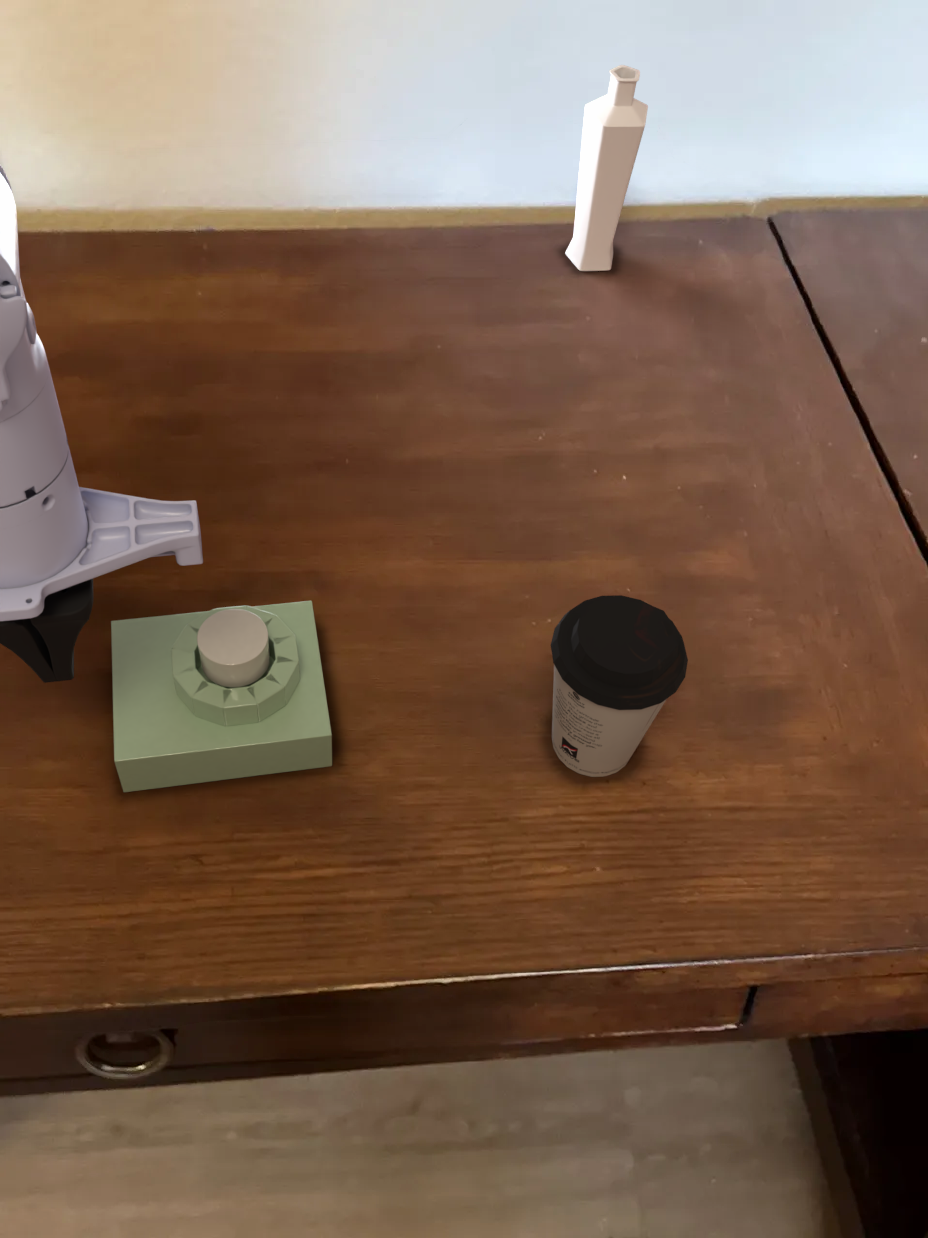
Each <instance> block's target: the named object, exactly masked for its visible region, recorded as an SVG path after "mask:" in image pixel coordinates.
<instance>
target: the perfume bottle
mask: <svg viewBox="0 0 928 1238" xmlns="http://www.w3.org/2000/svg"><path fill="white" fill-rule="evenodd" d="M608 72H609V74H610V79H609V84H608V89H607V93H606V94H604V95H602V96H600V97H598V98H595V99H594V100H592V101H589V102H587V103H585V104H584V109H583V110H584V111H583V121H582V133H581V143H580V158H579V166H578V169H579V170H578V178H577V189H576V200H575V213H574V222H573V235H572V238H571V240H570V242H569V244H568V246H567V247H566V250H565V253H564V254H565V256H566V257H567V258H568V259H569V260H570V261H571V263H572V264H573V265H574V266H575V268H576V269H577V270H579V271H580V272H598V271H599V272H600V271H610V270H611V269H612V266H613V258H614V238H615V235H616V232H617V228H618V224H619V222H620V221H619V220H620V216H621V214H622V210H623V207H624V202H625V200H626V196H627V192H628V188H629V184H630V181H631V177H632V173H633V170H634V168H635V167H634V166H635V163H636V158H637V155H638V152H639V149H640V145H641V142H642V138H643V134H644V131H645V127H646V123H647V116H648V108H649V106H648V104H647V103H644V102H642V101H641V100H639V99H637V98H635V97H634V96H635V92H636V88H637V83H638V82H639V81H640V77H641V71H640V70H639V69H637V68H634V67H631V66H628V65H625V64H619V65H618V66H615V67H613V68H611V69H609V71H608Z"/></svg>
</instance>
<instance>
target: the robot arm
mask: <svg viewBox="0 0 928 1238" xmlns="http://www.w3.org/2000/svg"><path fill="white" fill-rule="evenodd" d="M14 197H15V196H14V192H13V187H12V185H11V182H10V180H9V177H8V175H7V173H6V171H5V169H4V167H3V166H2V165H1V164H0V645H2V646H3V647H5V648H6V649H8V650H10V651H11V652H12V653H14V654H15V655H16V656H17V657H19V658H20V659H21V660H22V661H23V662H24V663H25V664H26V665H27V666H28V667H29V668H30V669H31V670H32V671H33V673H34V674H36V676H37V677H38V678H39V679H40V680H41V681H42V682H43V683H44V684H46V683H47V684H49V683H57V682H64V681H73V679H74V678H75V646H76V643H77V640H78V637H79V635H80V633H81V632H82V630H83V628H84V626H85V625H86V623H87V622H89V620H90V618H91V614H92V612H93V611H92V610H93V606H94V579H95V578H98V577H100V576H103V575H106V574H109V573H112V572H115V571H118V570H119V569H120V570H121V569H123V568H126V567H127V566H130V565H133V564H136V563H138V562H141V561H144V560H147V559H149V558H156V557H157V558H158V557H166V556H175V561H176V563H177V565H179V566H184V567H185V566H195V565H202V564H203V563H204V558H203V543H202V533H201V532H202V531H201V524H200V517H199V511H198V504H197V500H160V499H153V498H146V497H141V496H135V495H128V494H123V493H118V492H111V491H106V490H100V489H94V488H88V487H82V486H79V482H78V478H77V473H76V469H75V465H74V462H73V457H72V454H71V449H70V445H69V440H68V436H67V432H66V428H65V424H64V420H63V416H62V412H61V408H60V405H59V401H58V397H57V392H56V388H55V384H54V381H53V377H52V372H51V368H50V364H49V361H48V357H47V353H46V350H45V347H44V345H43V342H42V340H41V338H40V336H39V335H38V333H37V326H36V320H35V315H34V312H33V310H32V309H31V307H30V305H29V303H28V302H27V299H26V295H25V292H24V288H23V284H22V280H21V268H20V250H19V231H18V229H19V228H18V226H19V225H18V211H17V205H16V201H15V198H14Z"/></svg>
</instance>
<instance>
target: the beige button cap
mask: <svg viewBox="0 0 928 1238" xmlns="http://www.w3.org/2000/svg"><path fill="white" fill-rule="evenodd" d="M197 644H198V650H199V656H200V662H201V667H202V670H203V672H204V674H205V675H206V676H207V677H208V678H209V679H210V680H211V681H213V682H214V683H216V684H218V685H221V686H225V687H242V686H246V685H249V684H251V683H253V682H255V681H257V680H258V679H259V678H260V677H262V675H263V674H264V673H265V672H266V670H267V668H268V666H269V663H270V650H269V638H268V630H267V627H266V625H265V623H264V622H263V621H262V620H261V619H260V618H259V617H258V616H257V615H255V614H253V613H252V612H249V611H246V610H241V609H228V610H223V611H220V612H217V613H215V614H213V615H212V616H210V617H209V618H207V619H206V620H205V621H204V622H203V624H202V625H201V627H200V629H199V631H198V634H197Z"/></svg>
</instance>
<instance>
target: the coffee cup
mask: <svg viewBox="0 0 928 1238" xmlns="http://www.w3.org/2000/svg"><path fill="white" fill-rule="evenodd" d="M550 650H551V656H552V663H553V685H552V688H553V689H552V691H553V692H552V715H551V716H552V717H551V742H552V748H553V751H554V752H555V754H556V756H557V758H558V759H559V760H560V761H561V762H562V763H563V764H564V765H565V767H566V768H567V769H570V770H571V771H573V772H575V773H577V774H578V775H583V776H587V777H589V778H590V777H591V778H600V777H603V778H604V777H609V776H610V775H613V774H617V773H618V772H619V771H621V770H622V769H623V768H625V767H626V765H627V764H628V762H629V761H630V759H631V758H632V756H633V754H634V752H636V749H638V747H639V744H640V743H641V742H642V740H643V738H644V737H645V735H646V733H647V732H648V730H649V729H650V727H651V725H652V724H653V722H654V720H655V719H656V717H657V715H658V714H659V712H660V711H661V710H662V708H663V706H664V704H665V703H666V701H667V699H669V698H670V697H671V696H673V695H674V694H675V693H677V692H678V689H679V688H680V686H682V685H681V684H682V683H683V681H684V680H685V678H686V677H687V676H686V675H687V669H688V662H689V659H688V654H687V650H686V645H685V641H684V638H683V636H682V634H681V633H680V631H679V629H678V627H677V626H676V625H675V623H674V622H673V620H672V619H670V617H669V616H668V615H667V613H666V612H665V610H663V609H661V608H659V607H656V606H654V605H652V604H649V602H648V603H647V602H646V601H644V600H641V599H639V598H634V597H630V596H626V595H621V594H619V595H617V594H615V595H614V594H613V595H599V596H596V597H592V598H590V599H585V600H583V601H582V602H580V603H579V604H577V605H576V606H574V607H573V608H571V609H570V610H568V611H567V612H566V613H565V614H564V615H563V616H562V618H561V619H560V620H559V622H558V623H557V624H556V626H554V630H553V633H552V637H551V642H550Z"/></svg>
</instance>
